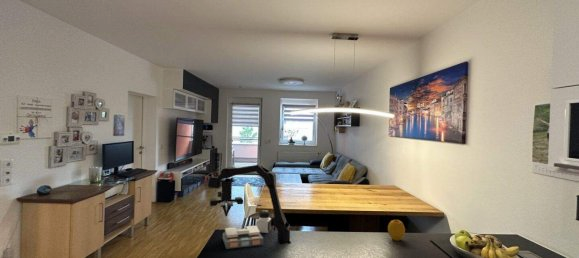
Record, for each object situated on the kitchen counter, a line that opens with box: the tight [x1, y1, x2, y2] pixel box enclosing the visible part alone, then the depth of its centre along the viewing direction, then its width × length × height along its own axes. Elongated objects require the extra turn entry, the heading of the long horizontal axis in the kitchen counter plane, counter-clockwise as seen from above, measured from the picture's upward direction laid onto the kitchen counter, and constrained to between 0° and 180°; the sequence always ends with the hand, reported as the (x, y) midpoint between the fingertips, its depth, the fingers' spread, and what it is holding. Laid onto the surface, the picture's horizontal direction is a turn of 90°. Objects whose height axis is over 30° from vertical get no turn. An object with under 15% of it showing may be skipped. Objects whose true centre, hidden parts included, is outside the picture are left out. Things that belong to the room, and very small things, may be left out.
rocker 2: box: [236, 228, 249, 235], centre depth 171 cm, size 6×8×2 cm
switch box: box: [222, 232, 264, 250], centre depth 170 cm, size 20×14×4 cm
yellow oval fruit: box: [387, 219, 406, 242], centre depth 179 cm, size 10×10×12 cm
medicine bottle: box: [256, 210, 272, 234], centre depth 188 cm, size 7×7×12 cm
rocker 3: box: [245, 225, 261, 236], centre depth 173 cm, size 6×8×2 cm
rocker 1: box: [224, 227, 238, 238], centre depth 169 cm, size 6×8×2 cm
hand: (226, 216), depth 176 cm, fingers closed
